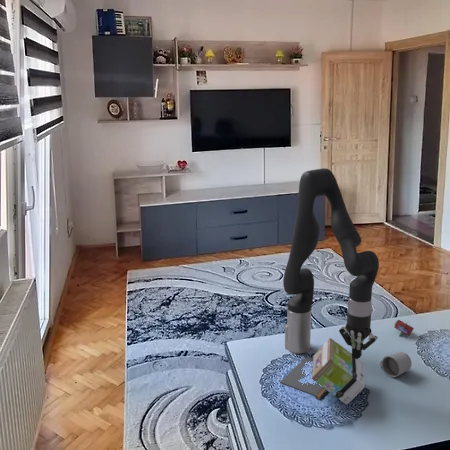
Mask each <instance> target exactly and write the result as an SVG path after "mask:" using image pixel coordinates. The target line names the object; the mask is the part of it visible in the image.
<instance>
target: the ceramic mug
mask: <svg viewBox="0 0 450 450" xmlns="http://www.w3.org/2000/svg"><path fill="white" fill-rule="evenodd" d="M378 364H379V366H380V368H382V369H383V371H384V373H385V374H386V375H388V377H390V378H396V377H398V376H401V375H402V374H404V373H406V372H409V371H410V370H411V368H412V365H413V364H412V359H411V357H410V356H409V355H408V353H406V352H404V351H397V352H394V353H391V354H387V355H386V356H384V357H383V358H382V360H381V361H379V363H378Z"/></svg>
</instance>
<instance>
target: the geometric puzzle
mask: <svg viewBox="0 0 450 450" xmlns="http://www.w3.org/2000/svg"><path fill="white" fill-rule="evenodd" d="M408 323H409V324H408ZM393 328H394V329H395V330H397V334H400V333H401V334H402V333H403V335H405V336H407V337H410V336H411V334H412V332H413V331H414V329H415V327H413V326H412V325H410V322H405V321H402V320H401V319H398V320H396V321H395V322H394V327H393ZM401 334H400V337H402V336H403V335H401Z"/></svg>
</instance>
